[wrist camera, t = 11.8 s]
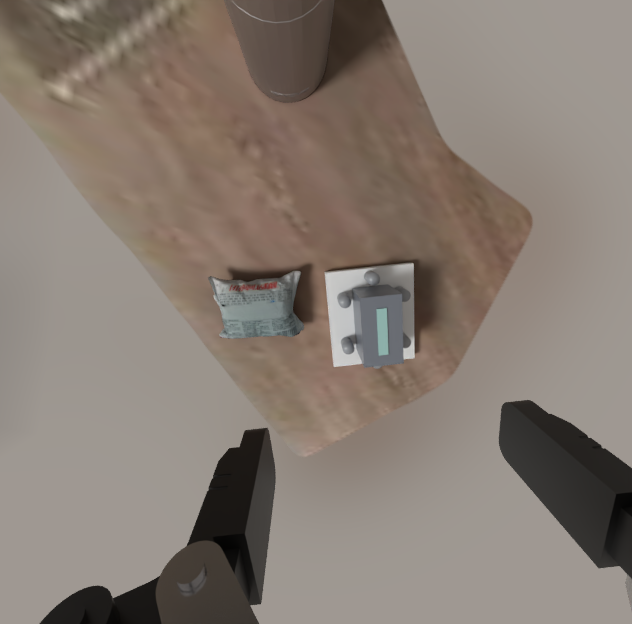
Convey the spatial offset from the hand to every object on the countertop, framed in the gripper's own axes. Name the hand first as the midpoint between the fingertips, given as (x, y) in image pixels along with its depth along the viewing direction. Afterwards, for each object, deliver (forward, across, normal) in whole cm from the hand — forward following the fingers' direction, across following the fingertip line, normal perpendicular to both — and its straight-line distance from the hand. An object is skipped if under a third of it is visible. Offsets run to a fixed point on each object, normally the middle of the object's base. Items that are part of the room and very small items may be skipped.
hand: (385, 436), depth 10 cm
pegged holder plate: (+32, -6, +6) cm, 33 cm away
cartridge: (+31, -6, +6) cm, 32 cm away
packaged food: (+32, +9, +2) cm, 34 cm away
